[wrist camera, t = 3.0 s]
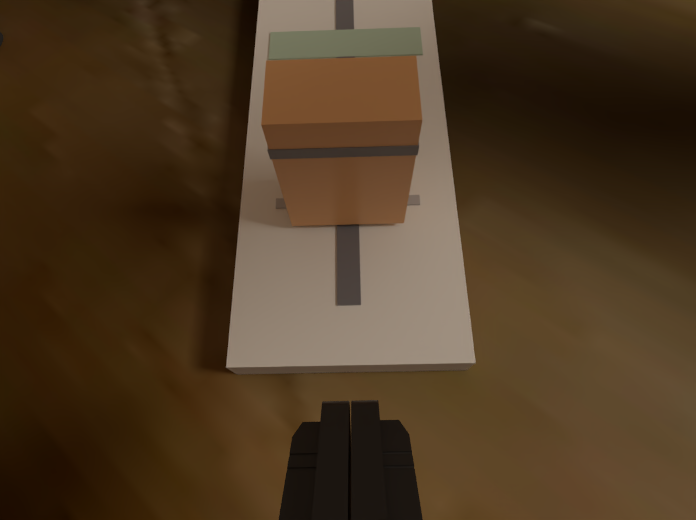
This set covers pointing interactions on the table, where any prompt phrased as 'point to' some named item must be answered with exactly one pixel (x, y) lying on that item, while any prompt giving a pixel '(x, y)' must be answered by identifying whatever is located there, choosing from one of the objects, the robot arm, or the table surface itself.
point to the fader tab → (343, 137)
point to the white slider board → (355, 239)
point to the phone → (1, 38)
